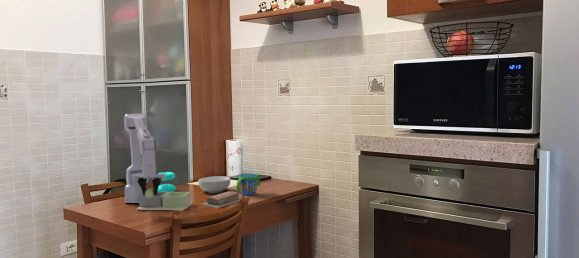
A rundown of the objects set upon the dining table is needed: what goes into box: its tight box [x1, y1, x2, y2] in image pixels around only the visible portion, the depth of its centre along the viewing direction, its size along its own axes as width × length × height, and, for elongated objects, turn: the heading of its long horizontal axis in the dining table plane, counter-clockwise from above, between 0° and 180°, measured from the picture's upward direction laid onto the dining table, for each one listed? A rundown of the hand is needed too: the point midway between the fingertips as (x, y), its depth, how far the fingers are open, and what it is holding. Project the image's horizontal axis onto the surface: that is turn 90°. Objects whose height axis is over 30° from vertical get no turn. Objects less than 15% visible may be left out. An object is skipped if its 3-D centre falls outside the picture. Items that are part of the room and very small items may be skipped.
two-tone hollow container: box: [136, 191, 193, 212], centre depth 233 cm, size 22×14×6 cm, turn 84°
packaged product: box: [201, 191, 242, 209], centre depth 238 cm, size 18×5×10 cm
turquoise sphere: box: [157, 171, 177, 193], centre depth 267 cm, size 10×10×10 cm
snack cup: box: [236, 173, 261, 197], centre depth 255 cm, size 16×10×10 cm
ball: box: [145, 187, 155, 198], centre depth 220 cm, size 4×4×4 cm
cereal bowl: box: [197, 175, 231, 194], centre depth 264 cm, size 17×17×7 cm
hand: (150, 194), depth 220 cm, fingers closed on ball, 4 cm apart
